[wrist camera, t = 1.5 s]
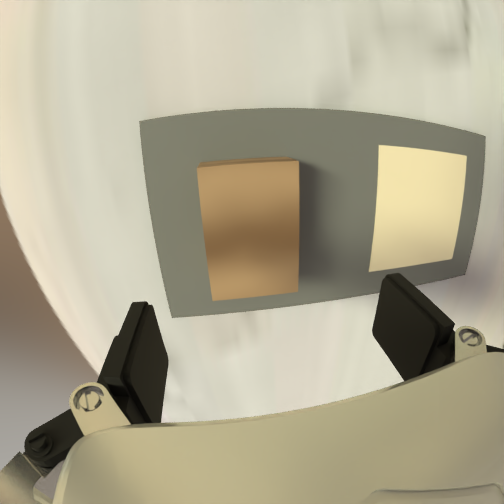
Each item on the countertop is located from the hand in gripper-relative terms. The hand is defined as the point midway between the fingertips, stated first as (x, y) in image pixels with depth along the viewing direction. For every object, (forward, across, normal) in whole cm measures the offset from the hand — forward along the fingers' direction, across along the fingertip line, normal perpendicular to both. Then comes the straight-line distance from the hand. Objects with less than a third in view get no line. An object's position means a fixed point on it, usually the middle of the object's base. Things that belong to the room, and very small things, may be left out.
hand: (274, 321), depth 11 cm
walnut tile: (+11, 0, -1) cm, 11 cm away
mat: (+12, -9, -1) cm, 15 cm away
